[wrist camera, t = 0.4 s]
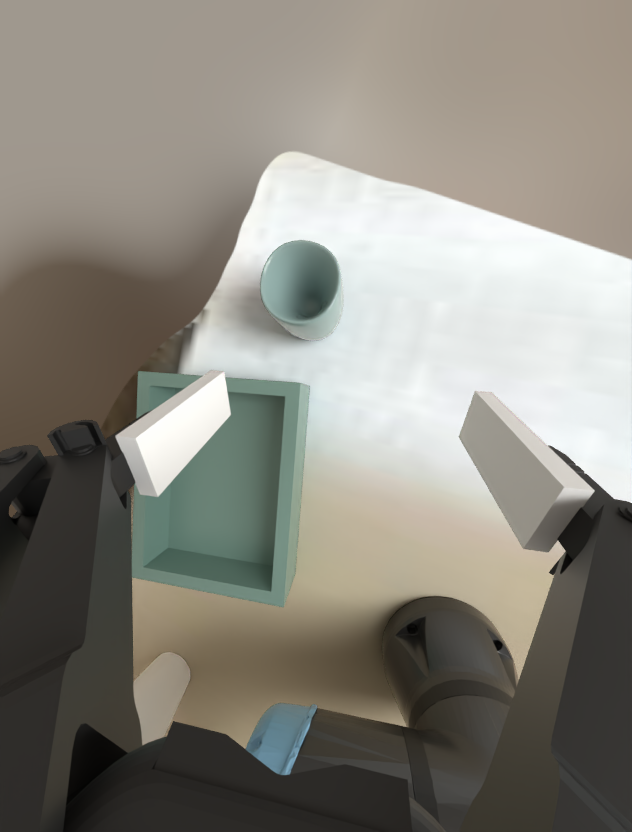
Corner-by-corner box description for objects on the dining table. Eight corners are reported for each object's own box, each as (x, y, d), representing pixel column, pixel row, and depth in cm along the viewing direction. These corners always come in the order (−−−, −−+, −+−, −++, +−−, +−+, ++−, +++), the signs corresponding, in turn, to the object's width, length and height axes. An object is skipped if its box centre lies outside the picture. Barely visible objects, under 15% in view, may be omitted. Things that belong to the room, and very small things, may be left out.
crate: (295, 573, 36) (283, 607, 31) (164, 550, 39) (131, 577, 33) (309, 386, 35) (300, 382, 29) (172, 376, 38) (138, 371, 32)
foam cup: (187, 712, 40) (108, 857, 27) (137, 681, 41) (38, 807, 28) (208, 661, 39) (136, 787, 26) (156, 631, 40) (63, 738, 27)
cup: (279, 339, 35) (250, 314, 25) (294, 280, 34) (269, 231, 24) (336, 353, 34) (328, 333, 24) (352, 292, 33) (351, 246, 23)
